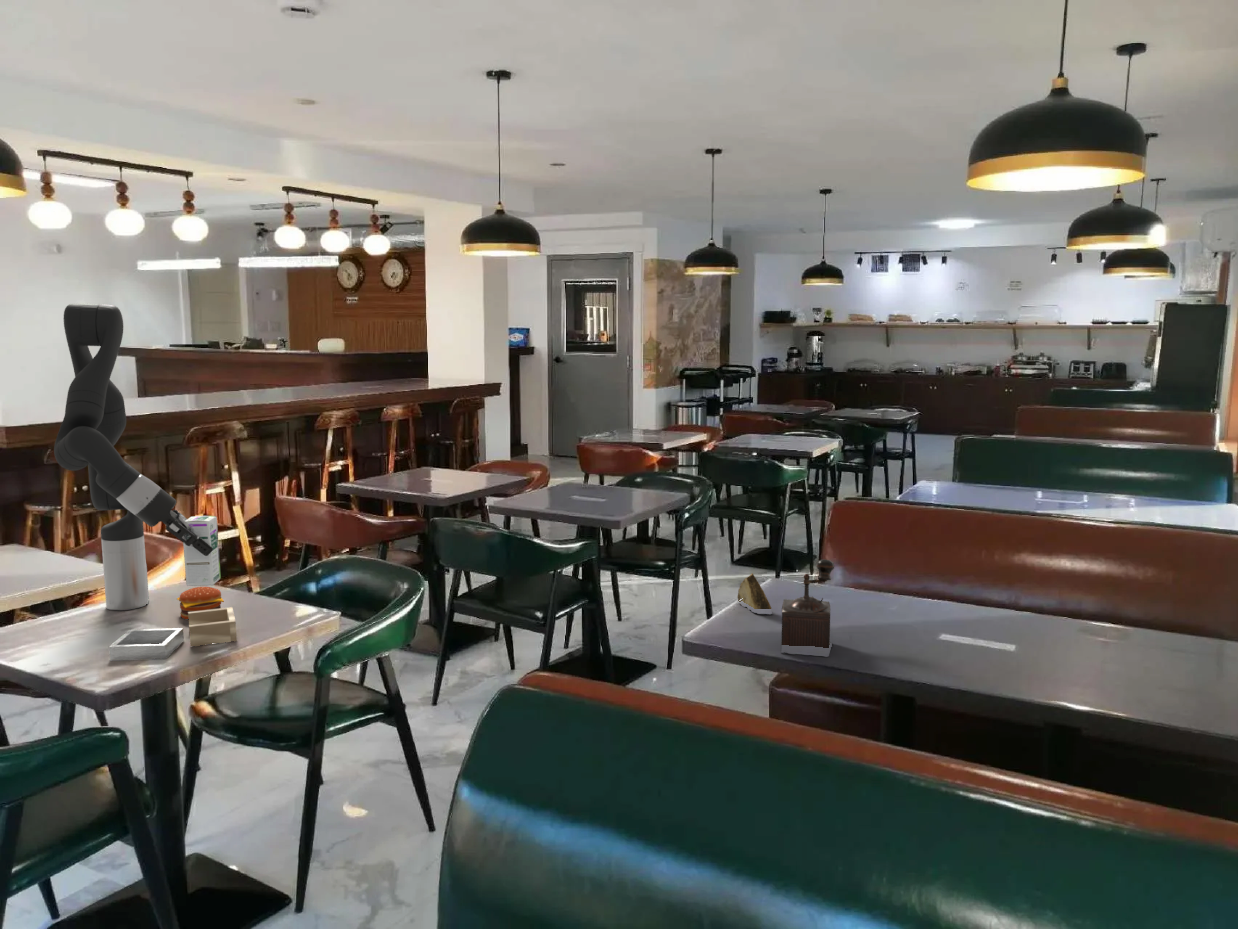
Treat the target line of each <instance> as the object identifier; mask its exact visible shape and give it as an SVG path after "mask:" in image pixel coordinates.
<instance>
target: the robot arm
mask: <svg viewBox="0 0 1238 929" xmlns="http://www.w3.org/2000/svg"><path fill="white" fill-rule="evenodd" d="M63 327H64V328H63V330H64V332H65V333H64V334H65V338H66V342H67V347H68V351H69V354H70V359H71V362H72V363H71V364H72V367H73V372H74V378H73V380H71V383H70V385H69V387H68V390H67V396H66V402H65V409H64V410H65V411H64V417H63V418H62V419H63V420H62V421H61V424H60V427H59V431H58V433H57V435H56V439H55V442H54V447H53V451H54V452H53V453H54V454H53V455H54V458H55V460H56V462H57V464H58V465H59V466H60V467H61V468H63V469H64V470H67V471H72V472H73V471H79V470H83V469H84V468H86V467H87V468H88V481H89V482H88V483H89V491H90V492H89V494H90V500H91V503H92V505H93V507H94V508H95V509H96V510H97V511H120V510H126V511H127V513H126V514H125V515H124V516H123V517H121V518H120V519H117V520H116V521H115V520H114V521H113V522H109V523H107V524H105V525H103V526H102V527H101V529H100V538H101V539H100V541H101V551H102V553H101V555H102V566H103V567H102V568H103V577H104V578H103V581H104V593H105V594H104V595H105V596H104V597H105V606H106V607H107V608H106V609H107V610H110V611H127V610H134V609H139V608H142V607H144V606H146V604H147V605H148V604H149V600H150V596H149V580H148V567H147V566H148V564H147V560H146V547H145V532H144V530H145V529H144V523H145V524H146V525H147V526H149V527H151V528H152V527H155V526H157V525H158V524H159V523H160V522H162V523H163V524H164V525H165V530H166V531H167V532H169V533H170V534H172V535H173V536H174V537H175V538H177V539H178V540H180V541H181V542H182V543H183V542H184V543H185V544H186V545H187V546H193V547H194V548H195V549H197V550H198V551H199V552H201V553H202V554H203V555H204V556H208V555H209V554H210V553H211V552H212V551H213V548H212V547H211V546H210V545H208V544H207V543H206V542H205V541H203V540H202V539H201V538H200V537H199V536H198V535H196V534H195V533H194V532H193V531H194V529H193V528H192V527H191V526H190V525H189V524H188V523H186V522H185V520H187V519H188V518H186V517H185V515H183V513H181V512H179V510H177V509H174V507H175V506H176V505H177V499H176V498H174V497H173V496H172V495H170V494H169V493H167V491H166V490H164V489H162V487H160V486H159V485H158V484H156V482H154V481H153V480H151V479H150V478H148V477H147V476H145V475H143V474H142V473H141V472H139V471H138V470H137V469H135V468H134V467H133V466H131V465H130V464H129V463H127V462H126V461H125V460H124V459H123V458H122V456H121V454H120V452H118V451H117V449H116V448H115V445H117V443H118V441H119V439H120V438H121V437H122V434H123V433H124V431H125V429H126V426H127V414H126V408H125V407H126V406H125V399H124V396H123V394H122V393H121V391H120V389H119V388H118V387H117V386H116V384H114V382H112V380H111V379H110V378H111V376H112V374H113V370H114V367H115V364H116V361H117V358H118V354H119V352H120V347H121V346H122V345H121V344H122V341H123V335H124V319H123V315H122V312H121V309H119V307H118V306H116V305H111V304H104V303H103V304H100V303H98V304H96V303H70V304H68V305H67V306H65V308H64V310H63ZM89 347H99V349H98V351H97V353H96V354H95V355H94V357H93V356H92V352H91V350H90V348H89ZM188 535H190V536H191V537H190V538H189V539H187V536H188ZM148 599H149V600H148Z"/></svg>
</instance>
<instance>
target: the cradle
mask: <svg viewBox="0 0 1238 929" xmlns="http://www.w3.org/2000/svg"><path fill="white" fill-rule="evenodd" d="M234 612H235V611H234V609H233V606H230V607H221V608H220V609H211V610H202V611H194V612H188V617H189V620H188V631H189V632H188V633H189V642H190V644H189V645H190V646H195V647H201V646H200V645H203V646H208V645H207V644H211V645H213V644H212V643H219V644H225V642H226V643H232V642H231V641H234V642H237V640H238V638H237V625H236V624H237V622H236V617H235V613H234ZM205 644H206V645H205Z"/></svg>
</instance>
